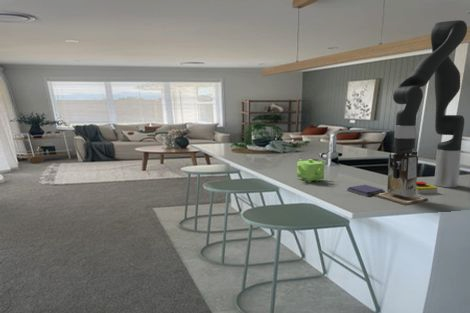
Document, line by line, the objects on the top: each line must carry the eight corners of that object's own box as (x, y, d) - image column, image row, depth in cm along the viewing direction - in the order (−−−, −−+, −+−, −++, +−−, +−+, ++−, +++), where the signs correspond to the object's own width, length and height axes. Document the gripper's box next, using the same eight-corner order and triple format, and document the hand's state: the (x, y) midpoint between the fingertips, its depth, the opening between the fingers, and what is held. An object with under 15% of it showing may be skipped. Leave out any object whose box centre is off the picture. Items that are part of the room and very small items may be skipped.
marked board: (396, 191, 138) (397, 190, 138) (427, 200, 126) (428, 198, 126) (374, 196, 133) (374, 194, 132) (404, 205, 120) (404, 203, 120)
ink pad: (364, 187, 146) (364, 184, 146) (384, 193, 137) (385, 189, 136) (347, 190, 142) (347, 187, 142) (366, 196, 132) (366, 192, 132)
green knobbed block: (298, 176, 173) (298, 156, 171) (324, 178, 168) (325, 157, 167) (294, 182, 159) (294, 160, 157) (323, 184, 154) (323, 162, 153)
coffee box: (416, 195, 126) (419, 156, 124) (406, 197, 124) (409, 157, 121) (396, 190, 134) (398, 153, 132) (386, 192, 132) (388, 154, 129)
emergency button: (421, 186, 132) (399, 178, 147) (420, 196, 133) (398, 187, 147) (441, 185, 133) (417, 178, 148) (440, 195, 134) (416, 187, 148)
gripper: (408, 135, 132) (405, 173, 134) (384, 137, 126) (382, 177, 128) (425, 136, 125) (422, 177, 128) (401, 138, 119) (398, 181, 122)
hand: (402, 177), depth 128 cm, fingers closed on coffee box, 6 cm apart
